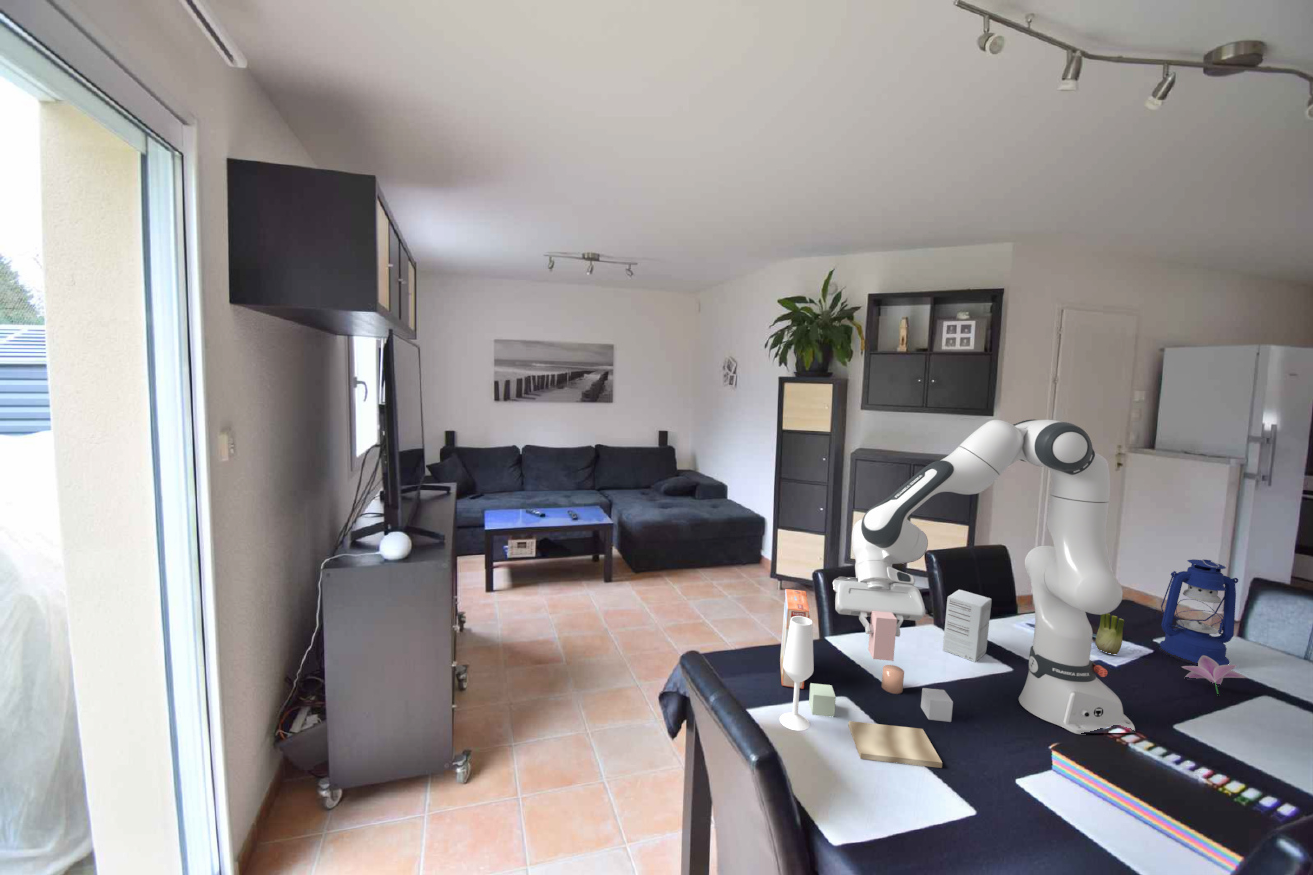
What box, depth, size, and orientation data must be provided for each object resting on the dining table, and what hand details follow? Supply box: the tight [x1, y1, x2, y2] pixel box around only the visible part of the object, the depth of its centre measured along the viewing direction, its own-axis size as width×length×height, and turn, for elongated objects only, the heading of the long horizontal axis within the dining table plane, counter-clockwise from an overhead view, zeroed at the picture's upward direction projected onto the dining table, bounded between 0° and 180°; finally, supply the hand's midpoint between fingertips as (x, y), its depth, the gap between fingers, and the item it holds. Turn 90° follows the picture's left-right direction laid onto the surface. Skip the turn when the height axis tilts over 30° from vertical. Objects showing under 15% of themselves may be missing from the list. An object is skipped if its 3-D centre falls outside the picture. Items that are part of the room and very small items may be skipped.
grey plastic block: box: [920, 687, 954, 723], centre depth 129 cm, size 5×5×5 cm
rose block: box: [867, 611, 897, 662], centre depth 128 cm, size 4×4×10 cm
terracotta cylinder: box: [881, 664, 905, 695], centre depth 140 cm, size 5×5×5 cm
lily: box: [1181, 655, 1247, 695], centre depth 145 cm, size 12×12×10 cm
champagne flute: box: [779, 616, 815, 732], centre depth 123 cm, size 7×7×24 cm
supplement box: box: [942, 589, 992, 663], centre depth 161 cm, size 10×9×17 cm
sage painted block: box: [808, 682, 837, 718], centre depth 129 cm, size 5×5×5 cm
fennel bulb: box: [1094, 613, 1125, 655], centre depth 164 cm, size 6×5×12 cm
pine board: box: [847, 720, 943, 769], centre depth 117 cm, size 16×11×1 cm
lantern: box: [1159, 559, 1239, 666], centre depth 163 cm, size 17×15×30 cm
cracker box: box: [779, 588, 811, 690], centre depth 144 cm, size 14×6×21 cm, turn 168°
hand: (883, 634), depth 127 cm, fingers closed on rose block, 4 cm apart
